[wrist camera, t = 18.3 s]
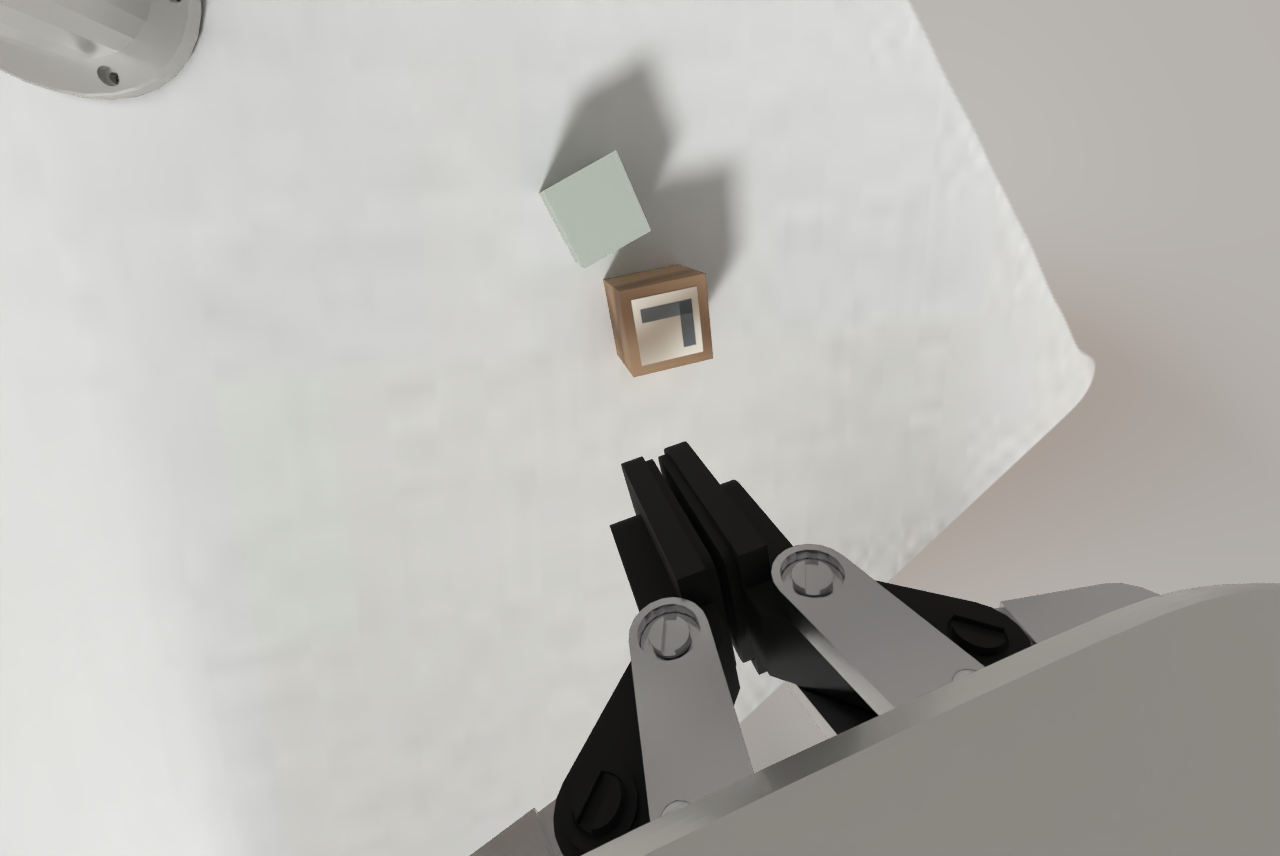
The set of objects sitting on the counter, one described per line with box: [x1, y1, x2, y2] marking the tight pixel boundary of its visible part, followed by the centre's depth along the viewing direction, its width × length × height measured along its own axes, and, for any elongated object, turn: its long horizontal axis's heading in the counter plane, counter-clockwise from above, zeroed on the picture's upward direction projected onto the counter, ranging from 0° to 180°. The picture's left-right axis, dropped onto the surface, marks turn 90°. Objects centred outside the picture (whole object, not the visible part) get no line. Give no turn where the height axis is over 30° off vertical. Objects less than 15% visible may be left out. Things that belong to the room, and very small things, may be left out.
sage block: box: [539, 150, 651, 268], centre depth 31 cm, size 5×5×5 cm
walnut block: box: [604, 264, 713, 377], centre depth 35 cm, size 6×6×6 cm
